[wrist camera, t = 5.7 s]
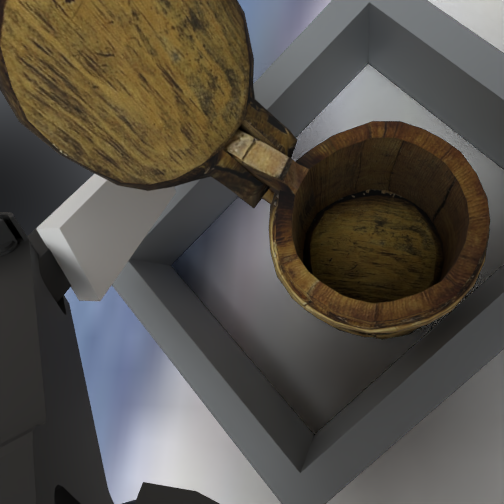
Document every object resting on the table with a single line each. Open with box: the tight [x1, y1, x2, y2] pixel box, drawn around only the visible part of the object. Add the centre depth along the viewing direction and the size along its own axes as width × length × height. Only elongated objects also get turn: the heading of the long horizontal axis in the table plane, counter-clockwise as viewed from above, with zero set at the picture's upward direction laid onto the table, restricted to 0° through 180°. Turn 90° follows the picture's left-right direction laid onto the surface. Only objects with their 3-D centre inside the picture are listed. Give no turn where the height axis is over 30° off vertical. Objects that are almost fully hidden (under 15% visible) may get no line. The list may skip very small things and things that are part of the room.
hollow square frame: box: [112, 0, 504, 504], centre depth 20 cm, size 20×16×5 cm
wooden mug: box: [0, 0, 490, 339], centre depth 14 cm, size 9×14×18 cm, turn 57°
